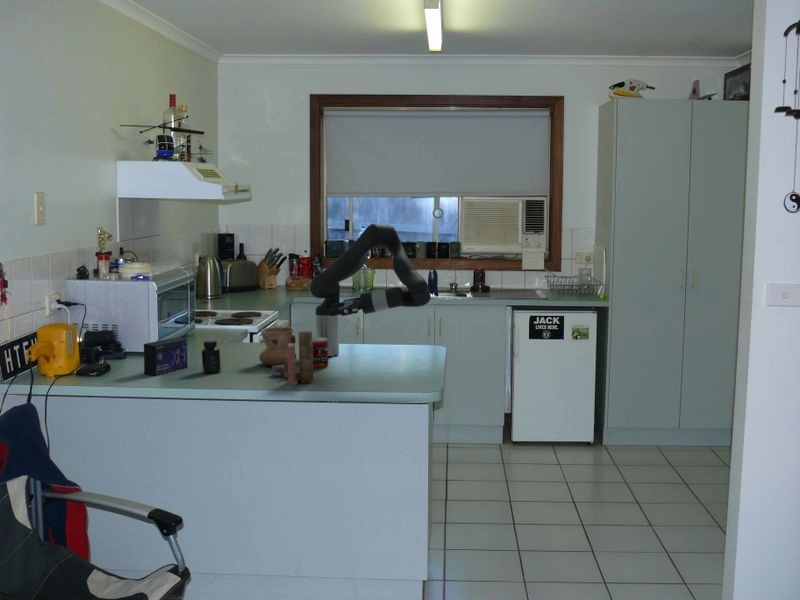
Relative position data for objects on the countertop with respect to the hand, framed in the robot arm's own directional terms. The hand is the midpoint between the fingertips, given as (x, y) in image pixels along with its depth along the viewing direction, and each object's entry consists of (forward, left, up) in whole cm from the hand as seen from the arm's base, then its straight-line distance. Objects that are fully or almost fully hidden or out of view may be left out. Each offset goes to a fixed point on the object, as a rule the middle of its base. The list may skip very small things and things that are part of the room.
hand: (331, 310), depth 321 cm
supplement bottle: (-16, -47, -26) cm, 56 cm away
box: (-19, -65, -26) cm, 73 cm away
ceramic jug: (-29, -23, -26) cm, 45 cm away
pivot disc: (-8, -20, -25) cm, 33 cm away
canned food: (-23, -7, -26) cm, 35 cm away
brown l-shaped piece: (-2, -15, -25) cm, 29 cm away
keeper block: (+5, -14, -25) cm, 30 cm away
